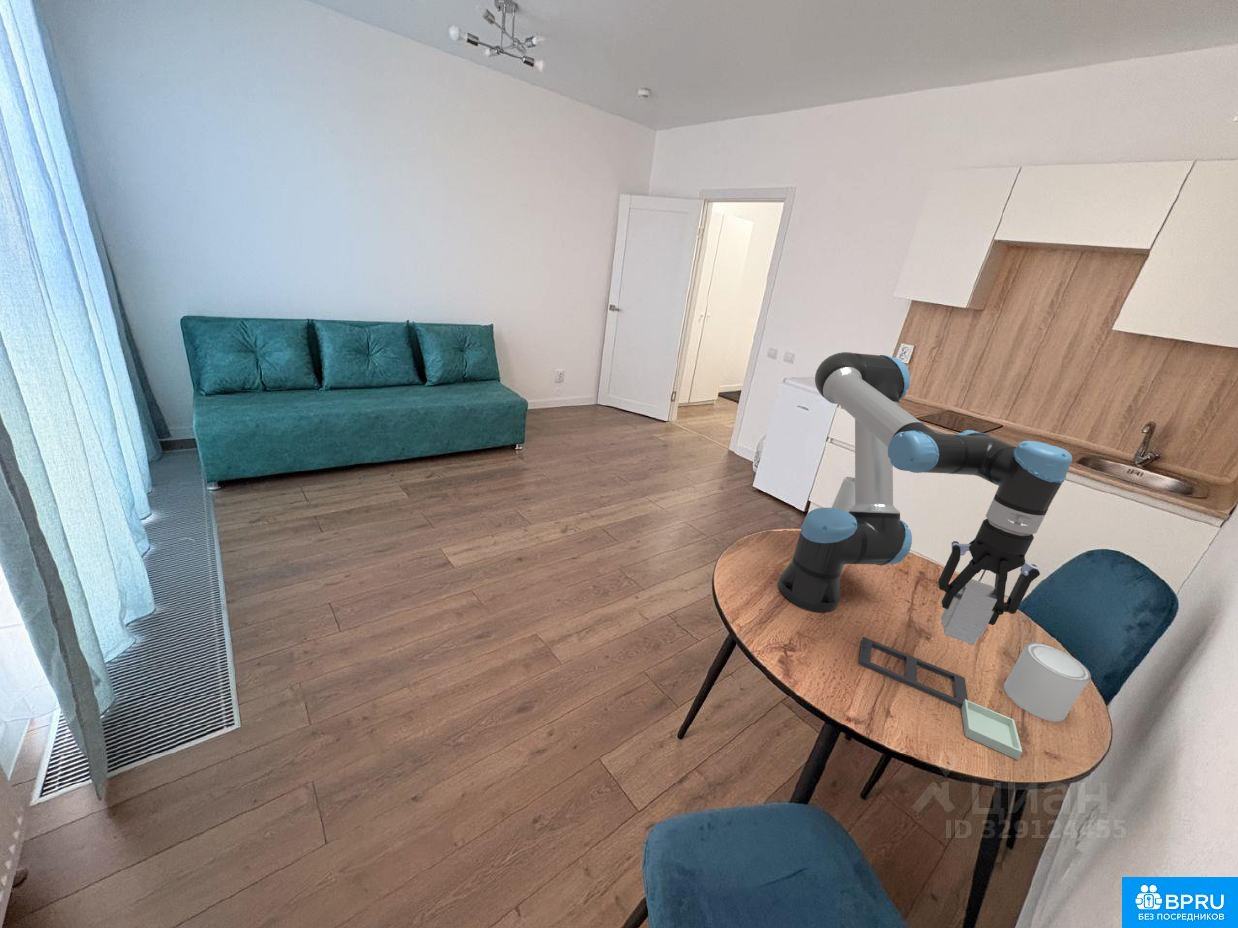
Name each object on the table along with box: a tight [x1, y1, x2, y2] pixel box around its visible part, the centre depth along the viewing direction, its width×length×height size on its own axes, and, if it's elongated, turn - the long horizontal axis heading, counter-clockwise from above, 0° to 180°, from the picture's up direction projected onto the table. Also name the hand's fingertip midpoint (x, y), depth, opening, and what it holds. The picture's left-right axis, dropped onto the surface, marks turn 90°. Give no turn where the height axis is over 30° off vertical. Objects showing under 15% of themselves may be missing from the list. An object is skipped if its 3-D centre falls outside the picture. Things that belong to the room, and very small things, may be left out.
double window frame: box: [858, 636, 969, 709], centre depth 101 cm, size 20×9×1 cm, turn 59°
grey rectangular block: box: [942, 578, 997, 646], centre depth 92 cm, size 5×5×11 cm
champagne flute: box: [830, 476, 855, 513], centre depth 142 cm, size 7×7×24 cm
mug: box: [1003, 641, 1092, 723], centre depth 97 cm, size 14×10×11 cm
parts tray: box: [960, 699, 1023, 761], centre depth 88 cm, size 8×8×2 cm
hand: (960, 627), depth 94 cm, fingers closed on grey rectangular block, 5 cm apart
